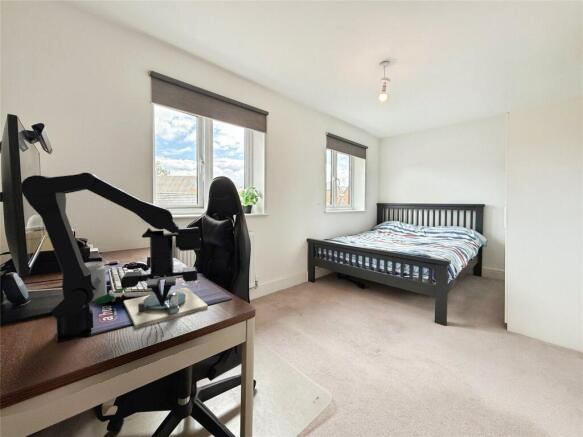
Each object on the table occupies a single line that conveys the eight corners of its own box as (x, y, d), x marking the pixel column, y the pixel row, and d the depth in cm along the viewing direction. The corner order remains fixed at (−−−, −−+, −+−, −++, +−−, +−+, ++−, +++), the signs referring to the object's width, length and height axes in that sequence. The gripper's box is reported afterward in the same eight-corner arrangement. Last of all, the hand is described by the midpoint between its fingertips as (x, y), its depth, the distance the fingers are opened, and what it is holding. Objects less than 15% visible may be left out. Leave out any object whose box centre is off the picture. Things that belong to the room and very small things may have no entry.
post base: (135, 328, 66) (135, 316, 66) (123, 303, 81) (123, 294, 81) (207, 308, 79) (207, 298, 79) (186, 290, 94) (186, 281, 94)
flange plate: (138, 299, 82) (138, 283, 81) (177, 290, 90) (176, 276, 89) (152, 318, 69) (151, 300, 68) (195, 306, 77) (195, 290, 76)
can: (102, 301, 82) (101, 265, 81) (74, 304, 80) (72, 267, 79) (109, 293, 89) (108, 260, 88) (83, 295, 87) (82, 261, 86)
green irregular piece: (100, 310, 80) (110, 299, 79) (92, 301, 80) (103, 290, 79) (124, 299, 89) (134, 288, 88) (118, 291, 89) (127, 280, 88)
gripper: (195, 245, 82) (195, 291, 83) (128, 248, 74) (129, 299, 76) (197, 252, 72) (197, 305, 73) (119, 256, 64) (121, 315, 66)
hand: (162, 305), depth 72 cm, fingers closed
